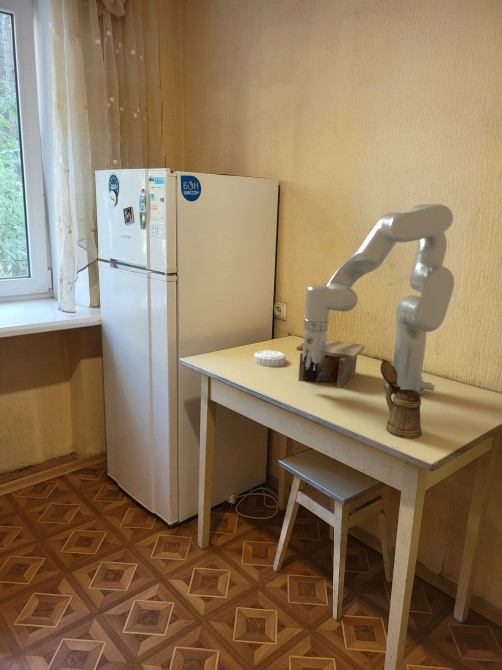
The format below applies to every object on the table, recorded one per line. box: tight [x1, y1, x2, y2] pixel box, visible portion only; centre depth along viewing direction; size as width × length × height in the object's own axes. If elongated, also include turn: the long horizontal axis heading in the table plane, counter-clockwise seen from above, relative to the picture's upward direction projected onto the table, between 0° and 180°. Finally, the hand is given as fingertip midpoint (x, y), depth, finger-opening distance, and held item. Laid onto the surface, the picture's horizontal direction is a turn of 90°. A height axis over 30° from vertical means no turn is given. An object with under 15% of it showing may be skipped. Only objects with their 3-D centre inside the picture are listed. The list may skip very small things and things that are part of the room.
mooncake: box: [253, 349, 287, 368], centre depth 195 cm, size 12×12×4 cm
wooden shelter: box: [296, 338, 366, 389], centre depth 180 cm, size 20×20×11 cm
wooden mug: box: [379, 359, 422, 439], centre depth 137 cm, size 9×14×18 cm, turn 40°
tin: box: [317, 356, 341, 383], centre depth 177 cm, size 15×3×8 cm, turn 128°
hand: (311, 380), depth 164 cm, fingers closed
